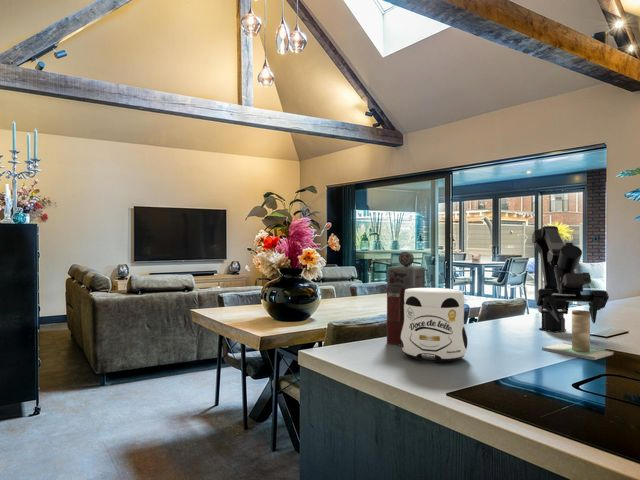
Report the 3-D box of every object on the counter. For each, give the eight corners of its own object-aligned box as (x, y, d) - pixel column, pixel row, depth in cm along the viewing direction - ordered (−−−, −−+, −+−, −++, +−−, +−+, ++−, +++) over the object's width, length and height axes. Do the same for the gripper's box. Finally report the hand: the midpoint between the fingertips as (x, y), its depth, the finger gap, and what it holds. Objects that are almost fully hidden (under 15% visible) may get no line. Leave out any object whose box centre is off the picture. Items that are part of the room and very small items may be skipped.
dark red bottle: (383, 344, 137) (383, 251, 138) (398, 338, 147) (398, 251, 147) (410, 348, 132) (411, 252, 133) (425, 341, 142) (425, 251, 142)
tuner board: (542, 349, 132) (542, 347, 132) (563, 344, 138) (563, 342, 138) (593, 360, 120) (593, 357, 120) (613, 354, 126) (613, 351, 126)
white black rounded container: (419, 368, 112) (419, 295, 112) (390, 352, 128) (390, 288, 128) (481, 363, 116) (481, 293, 116) (445, 348, 133) (445, 286, 133)
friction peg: (571, 351, 128) (571, 311, 128) (572, 348, 131) (572, 309, 131) (589, 353, 125) (589, 313, 125) (590, 349, 129) (590, 311, 129)
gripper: (538, 262, 139) (545, 303, 129) (606, 263, 135) (620, 306, 124) (532, 285, 147) (539, 326, 137) (597, 286, 142) (610, 329, 132)
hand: (576, 321), depth 132 cm, fingers open, 9 cm apart
